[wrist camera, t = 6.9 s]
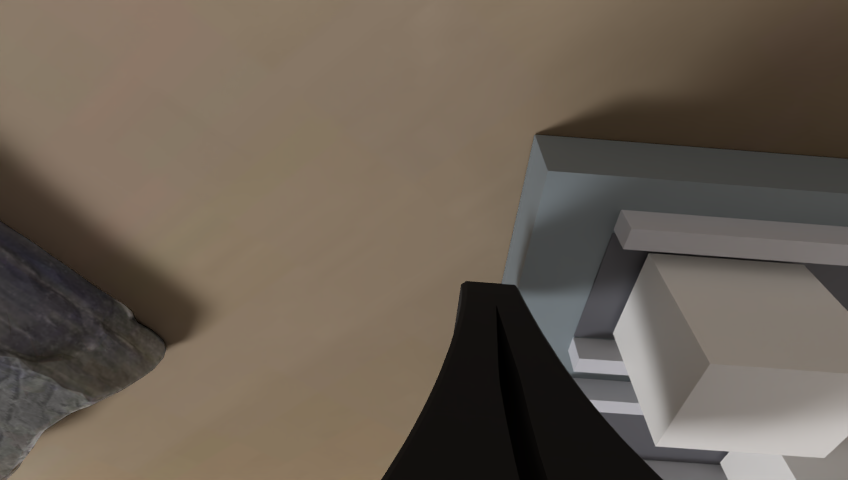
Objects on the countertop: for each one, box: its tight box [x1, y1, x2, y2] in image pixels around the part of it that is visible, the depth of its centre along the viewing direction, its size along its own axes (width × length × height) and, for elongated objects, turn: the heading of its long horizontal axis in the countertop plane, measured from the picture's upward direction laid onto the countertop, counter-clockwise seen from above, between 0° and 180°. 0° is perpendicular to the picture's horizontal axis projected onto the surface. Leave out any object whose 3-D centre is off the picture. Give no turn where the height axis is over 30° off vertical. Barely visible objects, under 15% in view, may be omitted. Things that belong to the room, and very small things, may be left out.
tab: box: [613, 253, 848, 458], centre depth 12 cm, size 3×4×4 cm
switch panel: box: [502, 135, 848, 480], centre depth 18 cm, size 20×18×3 cm
